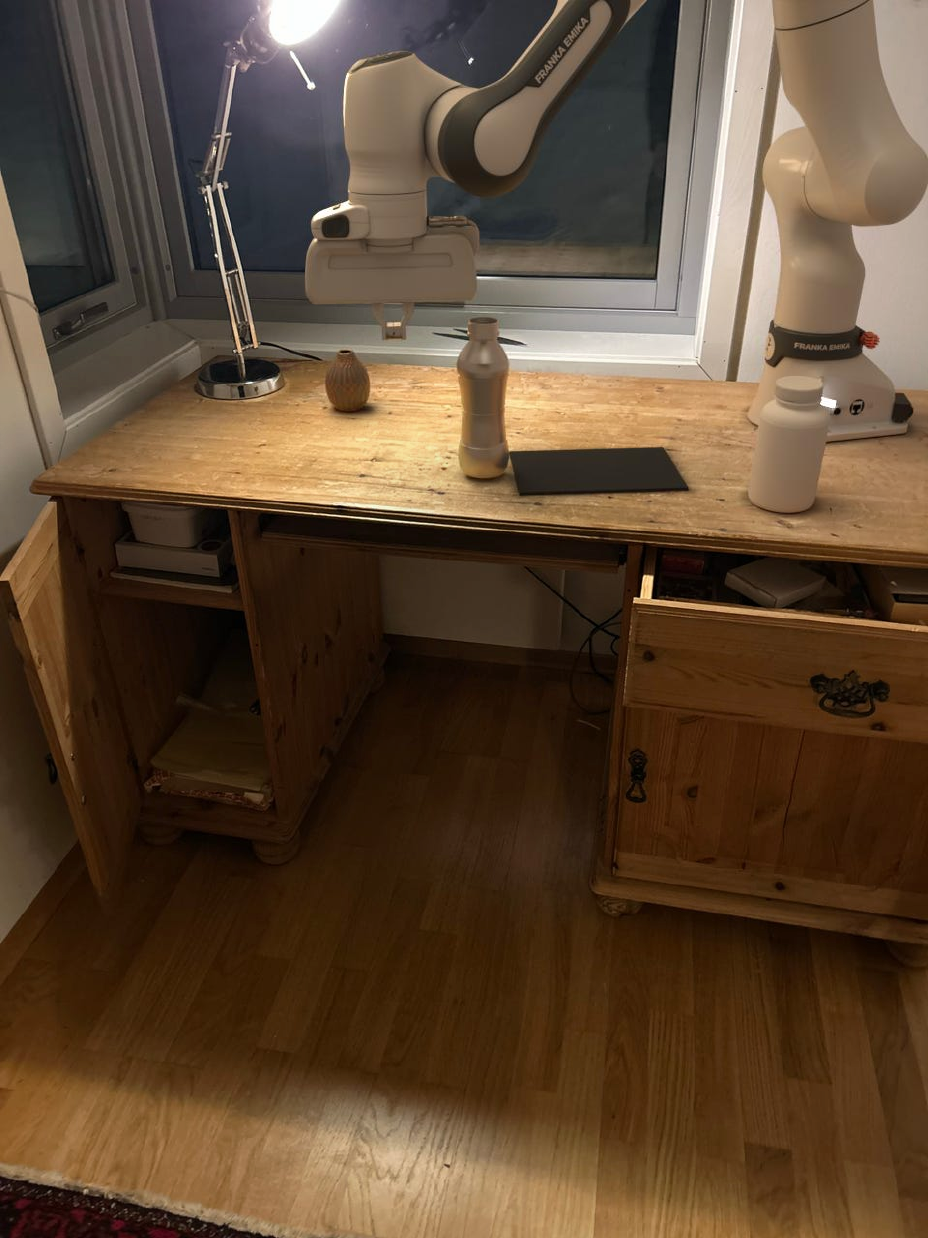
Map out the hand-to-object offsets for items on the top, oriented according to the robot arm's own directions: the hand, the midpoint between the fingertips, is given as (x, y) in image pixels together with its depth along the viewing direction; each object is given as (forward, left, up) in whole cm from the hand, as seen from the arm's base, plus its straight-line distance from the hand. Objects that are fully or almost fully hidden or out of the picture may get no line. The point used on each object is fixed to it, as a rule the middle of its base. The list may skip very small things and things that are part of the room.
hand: (394, 338), depth 116 cm
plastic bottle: (-11, 0, -18) cm, 21 cm away
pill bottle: (-47, +11, -18) cm, 52 cm away
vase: (+8, -28, -18) cm, 34 cm away
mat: (-26, 0, -18) cm, 31 cm away
